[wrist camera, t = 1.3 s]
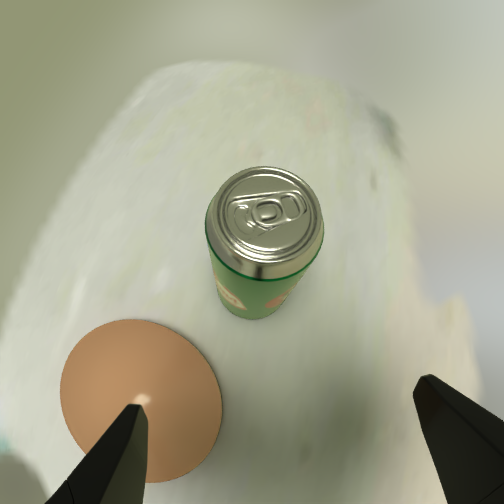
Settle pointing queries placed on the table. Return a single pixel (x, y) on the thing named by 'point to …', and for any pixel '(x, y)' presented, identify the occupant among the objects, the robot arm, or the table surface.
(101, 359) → the terracotta plate
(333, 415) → the table surface
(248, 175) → the soda can
